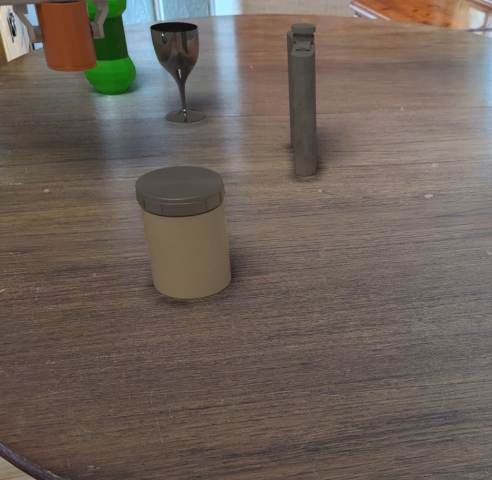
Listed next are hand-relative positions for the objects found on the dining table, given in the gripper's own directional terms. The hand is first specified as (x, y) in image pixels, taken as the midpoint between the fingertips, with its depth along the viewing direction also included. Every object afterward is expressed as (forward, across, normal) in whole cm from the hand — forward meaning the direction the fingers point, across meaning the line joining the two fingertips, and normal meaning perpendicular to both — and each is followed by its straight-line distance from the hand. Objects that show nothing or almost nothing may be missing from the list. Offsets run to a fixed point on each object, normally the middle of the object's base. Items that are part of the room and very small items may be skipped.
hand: (67, 40), depth 95 cm
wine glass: (+20, -22, -24) cm, 38 cm away
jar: (+20, -2, +33) cm, 38 cm away
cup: (+3, 0, 0) cm, 3 cm away
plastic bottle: (+20, -15, -45) cm, 52 cm away
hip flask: (+20, -32, +4) cm, 38 cm away
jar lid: (+8, -2, +33) cm, 34 cm away
